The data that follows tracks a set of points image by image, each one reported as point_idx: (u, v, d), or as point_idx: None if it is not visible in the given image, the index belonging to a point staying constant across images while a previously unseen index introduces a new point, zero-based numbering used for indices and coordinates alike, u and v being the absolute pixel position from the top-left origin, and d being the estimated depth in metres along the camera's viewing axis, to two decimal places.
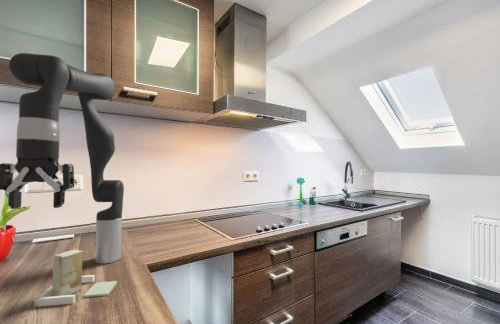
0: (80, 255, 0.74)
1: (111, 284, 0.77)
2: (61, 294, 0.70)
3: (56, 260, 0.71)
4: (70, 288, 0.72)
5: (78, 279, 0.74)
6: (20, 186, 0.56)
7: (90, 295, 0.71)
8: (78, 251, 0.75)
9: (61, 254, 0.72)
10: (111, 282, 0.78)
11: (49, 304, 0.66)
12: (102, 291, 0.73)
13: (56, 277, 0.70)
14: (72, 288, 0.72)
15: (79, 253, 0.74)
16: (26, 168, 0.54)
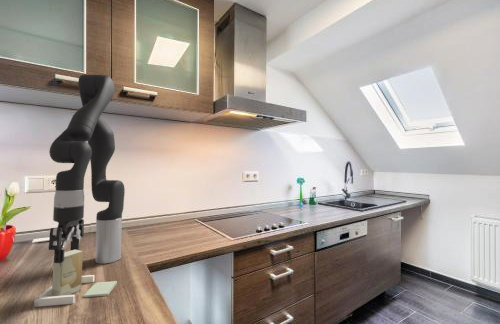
0: (80, 255, 0.74)
1: (111, 284, 0.77)
2: (61, 294, 0.70)
3: None
4: (70, 288, 0.72)
5: (78, 279, 0.74)
6: (57, 245, 0.69)
7: (90, 295, 0.71)
8: (78, 251, 0.74)
9: None
10: (111, 282, 0.78)
11: (49, 304, 0.66)
12: (102, 291, 0.73)
13: (56, 277, 0.70)
14: (72, 288, 0.72)
15: (79, 253, 0.74)
16: (73, 227, 0.73)
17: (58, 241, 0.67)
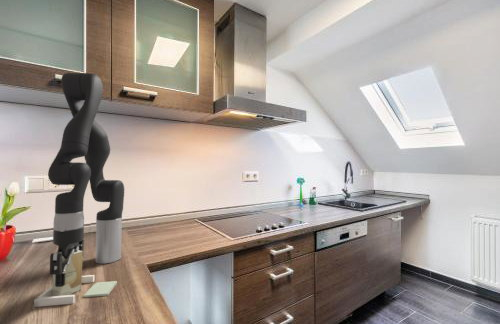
0: (80, 254, 0.74)
1: (111, 284, 0.77)
2: (61, 294, 0.70)
3: None
4: (70, 288, 0.72)
5: (78, 279, 0.74)
6: (58, 268, 0.69)
7: (90, 295, 0.71)
8: (78, 251, 0.74)
9: None
10: (111, 282, 0.78)
11: (49, 304, 0.66)
12: (102, 291, 0.73)
13: None
14: (72, 288, 0.72)
15: (79, 253, 0.74)
16: (73, 249, 0.72)
17: (59, 266, 0.67)
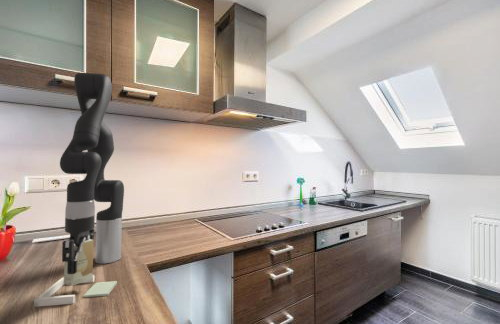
0: (91, 243, 0.75)
1: (111, 284, 0.77)
2: (73, 281, 0.70)
3: None
4: (82, 276, 0.73)
5: (89, 267, 0.75)
6: (70, 256, 0.70)
7: (90, 295, 0.71)
8: (89, 240, 0.75)
9: None
10: (111, 282, 0.78)
11: (49, 304, 0.66)
12: (102, 291, 0.73)
13: None
14: (83, 275, 0.73)
15: (90, 241, 0.75)
16: (84, 238, 0.73)
17: (71, 253, 0.68)
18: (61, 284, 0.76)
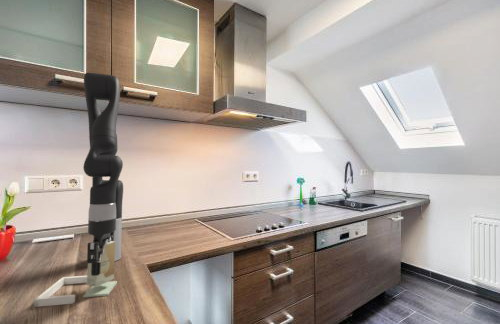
0: (112, 245, 0.76)
1: (111, 284, 0.77)
2: (96, 283, 0.71)
3: None
4: (104, 277, 0.74)
5: (111, 269, 0.76)
6: (93, 257, 0.71)
7: (90, 295, 0.71)
8: (110, 242, 0.76)
9: None
10: (111, 282, 0.78)
11: (49, 304, 0.66)
12: (102, 291, 0.73)
13: None
14: (105, 277, 0.74)
15: (112, 243, 0.76)
16: (107, 240, 0.74)
17: (96, 255, 0.69)
18: (61, 284, 0.76)
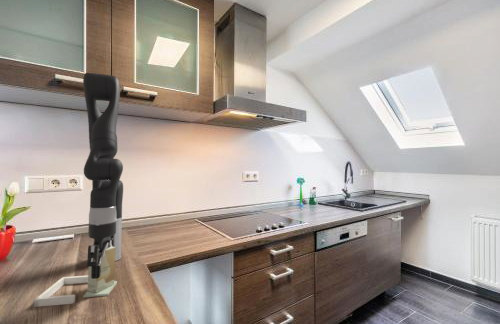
0: (113, 250, 0.77)
1: None
2: (97, 288, 0.72)
3: None
4: (105, 283, 0.74)
5: (112, 274, 0.76)
6: (93, 261, 0.71)
7: (90, 295, 0.71)
8: (111, 247, 0.77)
9: None
10: None
11: (49, 304, 0.66)
12: (102, 291, 0.73)
13: None
14: (106, 282, 0.74)
15: (112, 248, 0.77)
16: (107, 243, 0.74)
17: (96, 258, 0.69)
18: (61, 284, 0.76)
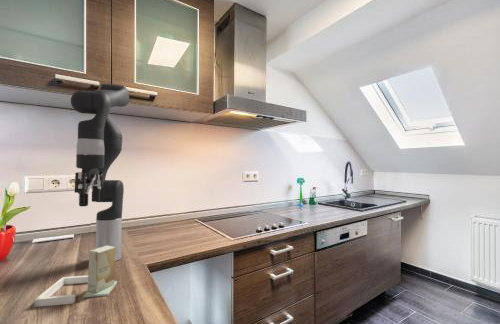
0: (113, 250, 0.77)
1: None
2: (97, 288, 0.72)
3: (92, 255, 0.73)
4: (105, 283, 0.74)
5: (112, 274, 0.76)
6: None
7: (90, 295, 0.71)
8: (111, 247, 0.77)
9: (96, 250, 0.74)
10: None
11: (49, 304, 0.66)
12: (102, 291, 0.73)
13: (92, 272, 0.73)
14: (106, 282, 0.74)
15: (112, 248, 0.77)
16: (95, 175, 0.76)
17: (83, 184, 0.70)
18: (61, 284, 0.76)
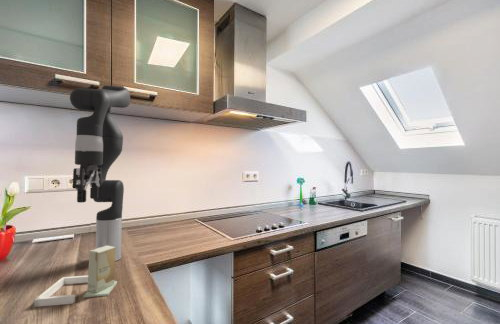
0: (113, 250, 0.77)
1: None
2: (97, 288, 0.72)
3: (92, 255, 0.73)
4: (105, 283, 0.74)
5: (112, 274, 0.76)
6: None
7: (90, 295, 0.71)
8: (111, 247, 0.77)
9: (96, 250, 0.74)
10: None
11: (49, 304, 0.66)
12: (102, 291, 0.73)
13: (92, 272, 0.73)
14: (106, 282, 0.74)
15: (112, 248, 0.77)
16: (93, 171, 0.76)
17: (81, 180, 0.70)
18: (61, 284, 0.76)
